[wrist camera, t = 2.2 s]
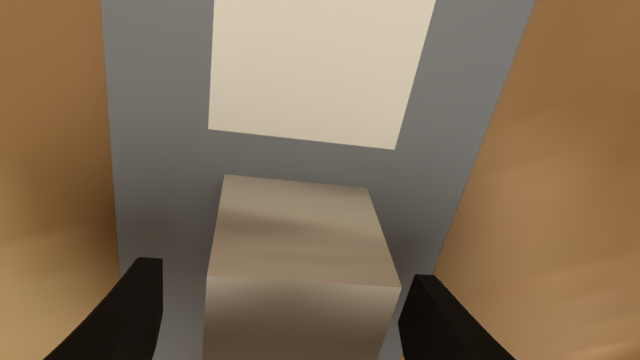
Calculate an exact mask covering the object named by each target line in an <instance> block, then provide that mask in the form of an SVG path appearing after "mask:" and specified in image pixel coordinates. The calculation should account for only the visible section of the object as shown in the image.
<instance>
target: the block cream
mask: <svg viewBox="0 0 640 360" xmlns="http://www.w3.org/2000/svg"><path fill="white" fill-rule="evenodd" d="M401 289H402V286H401V283H400V281H399V278H398V275H397V272H396V269H395V266H394V263H393V261H392V258H391V255H390V252H389V249H388V246H387V243H386V241H385V238H384V235H383V232H382V229H381V226H380V223H379V221H378V218H377V215H376V212H375V209H374V206H373V204H372V201H371V198H370V195H369V192H368V189H367V188H363V187H353V186H342V185H332V184H322V183H311V182H301V181H290V180H280V179H269V178H259V177H248V176H238V175H227V174H225V175H224V181H223V186H222V192H221V198H220V203H219V209H218V215H217V221H216V226H215V232H214V238H213V244H212V249H211V255H210V261H209V266H208V272H207V282H206V300H205V318H204V336H203V353H202V360H377V359H378V356H379V353H380V350H381V347H382V344H383V341H384V338H385V336H386V333H387V330H388V327H389V324H390V321H391V318H392V315H393V312H394V309H395V306H396V303H397V301H398V298H399V295H400V292H401Z"/></svg>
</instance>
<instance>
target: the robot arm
mask: <svg viewBox="0 0 640 360" xmlns="http://www.w3.org/2000/svg"><path fill="white" fill-rule="evenodd" d="M162 316H163V258H148V257H139V258H137V259H136V260H135V261H134V262H133V263H132V265H131V266H130V267H129V269H128V270H127V271H126V273H125V274H124V275H123V276H122V278H121V279H120V280H119V281H118V283H117V284H116V285H115V286H114V287H113V288H112V290H111V291H110V292H109V293H108V294H107V296H106V297H105V298H104V299H103V300H102V301H101V302H100V303H99V304H98V306H97V307H96V308H95V309H94V310H93V311H92V312H91V313H90V314H89V315H88V316H87V318H86V319H85V320H84V321H83V322H82V323H81V324H80V325H79V326H78V327H77V328H76V329H75V330H74V331H73V332H72V333H71V334H70V335H69V336H68V337H67V338H66V339H65V340H64V341H63V342H62V343H61V344H59V345H58V346H57V347H56V348H55V349H54V350H53V351H52V352H51V353H50V354H49V355H48V356H46V357H45V358H44V359H43V360H152V358H153V355H154V352H155V349H156V345H157V340H158V336H159V331H160V326H161V321H162ZM398 328H399V334H400V340H401V345H402V350H403V355H404V359H405V360H516V359H515V358H514V357H513V356H511V355H510V354H509V353H508V352H507V351H506V350H505V349H504V348H503V347H502V346H501V345H500V344H499V343H498V342H497V341H496V340H495V339H494V338H493V337H492V336H491V335H490V334H489V333H488V332H487V331H486V330H485V329H484V328H483V327H482V326H481V325H480V324H479V323H478V322H477V321H476V320H475V319H474V318H473V317H472V315H471V314H470V313H469V312H468V311H467V310H466V309H465V308H464V307H463V306H462V305H461V304H460V302H459V301H458V300H457V299H456V298H455V297H454V296H453V295H452V294H451V293H450V291H449V290H448V289H447V288H446V287H445V286H444V285H443V284H442V283H441V282H440V281H439V280H438V279H437V278H436V276H435V275H423V274H415V275H414V278H413V281H412V283H411V286H410V289H409V292H408V295H407V297H406V300H405V303H404V306H403V308H402V311H401V314H400V317H399V320H398Z"/></svg>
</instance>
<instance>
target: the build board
mask: <svg viewBox="0 0 640 360" xmlns="http://www.w3.org/2000/svg"><path fill="white" fill-rule="evenodd" d="M100 1H101V15H102V29H103V44H104V58H105V72H106V87H107V101H108V115H109V130H110V144H111V158H112V173H113V187H114V201H115V216H116V230H117V244H118V259H119V273H120V279H121V278H122V276H123V275H124V274H125V273H126V271H127V270H128V269H129V267H130V266H131V265H132V263H133V262H134V261H135V260H136V259H137V258H139V257H148V258H163V316H162V321H161V326H160V331H159V336H158V340H157V345H156V349H155V352H154V355H153V358H152V360H202V353H203V336H204V318H205V300H206V282H207V272H208V266H209V261H210V255H211V249H212V244H213V238H214V232H215V226H216V221H217V215H218V209H219V203H220V198H221V192H222V186H223V181H224V175H225V174H227V175H238V176H248V177H259V178H269V179H280V180H290V181H301V182H311V183H322V184H332V185H342V186H353V187H363V188H367V189H368V192H369V195H370V198H371V201H372V204H373V206H374V209H375V212H376V215H377V218H378V221H379V223H380V226H381V229H382V232H383V235H384V238H385V241H386V243H387V246H388V249H389V252H390V255H391V258H392V261H393V263H394V266H395V269H396V272H397V275H398V278H399V281H400V283H401V286H402V289H401V292H400V295H399V298H398V301H397V303H396V306H395V309H394V312H393V315H392V318H391V321H390V324H389V327H388V330H387V333H386V336H385V338H384V341H383V344H382V347H381V350H380V353H379V356H378V359H377V360H399V359H400V357H401V354H402V352H403V350H402V345H401V340H400V334H399V328H398V320H399V317H400V314H401V311H402V308H403V306H404V303H405V300H406V297H407V295H408V292H409V289H410V286H411V283H412V281H413V278H414V275H415V274H423V275H432V272H433V270H434V267H435V265H436V262H437V259H438V257H439V254H440V251H441V249H442V246H443V243H444V241H445V238H446V235H447V233H448V230H449V228H450V225H451V222H452V220H453V217H454V214H455V212H456V209H457V206H458V204H459V201H460V199H461V196H462V193H463V191H464V188H465V185H466V183H467V180H468V177H469V175H470V172H471V170H472V167H473V164H474V162H475V159H476V156H477V154H478V151H479V148H480V146H481V143H482V141H483V138H484V135H485V133H486V130H487V127H488V125H489V122H490V119H491V117H492V114H493V112H494V109H495V106H496V104H497V101H498V98H499V96H500V93H501V90H502V88H503V85H504V83H505V80H506V77H507V75H508V72H509V69H510V67H511V64H512V61H513V59H514V56H515V53H516V51H517V48H518V46H519V43H520V40H521V38H522V35H523V32H524V30H525V27H526V24H527V22H528V19H529V17H530V14H531V11H532V9H533V6H534V3H535V1H536V0H100Z"/></svg>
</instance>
